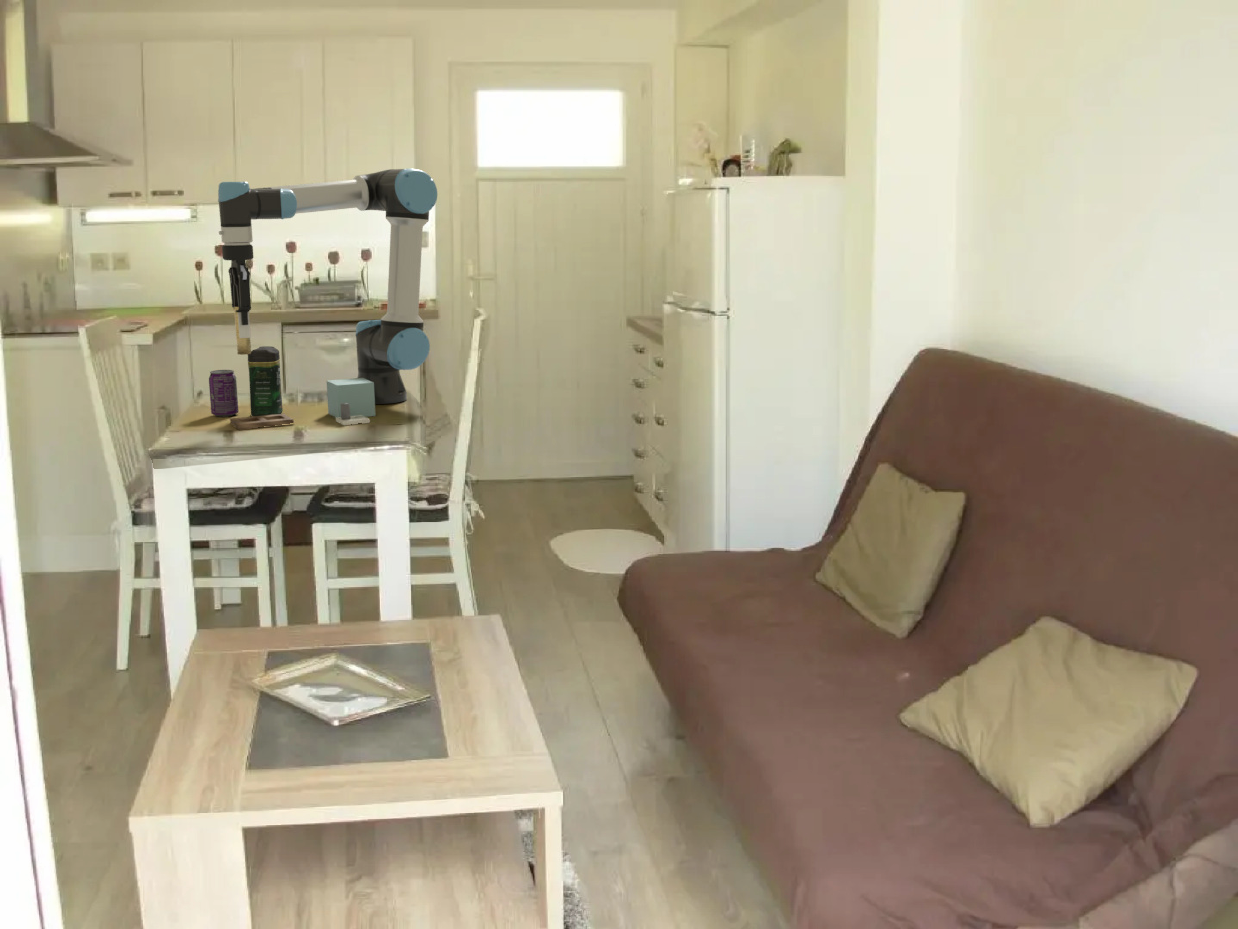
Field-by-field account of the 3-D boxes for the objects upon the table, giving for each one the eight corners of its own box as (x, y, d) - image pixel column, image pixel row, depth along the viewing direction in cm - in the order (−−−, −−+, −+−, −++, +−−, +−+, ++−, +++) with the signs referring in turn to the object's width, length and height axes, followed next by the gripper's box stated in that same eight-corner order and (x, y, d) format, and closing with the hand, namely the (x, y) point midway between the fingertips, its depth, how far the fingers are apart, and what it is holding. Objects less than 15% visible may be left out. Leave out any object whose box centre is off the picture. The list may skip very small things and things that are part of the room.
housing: (364, 410, 377) (362, 377, 375) (375, 415, 368) (373, 382, 366) (328, 413, 372) (326, 380, 370) (338, 419, 364) (337, 385, 362)
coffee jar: (278, 418, 366) (273, 348, 362) (248, 418, 366) (243, 349, 362) (286, 412, 376) (282, 344, 372) (257, 412, 376) (252, 344, 372)
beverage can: (228, 412, 376) (225, 368, 374) (244, 414, 372) (241, 370, 370) (206, 415, 371) (202, 371, 369) (221, 418, 367) (218, 373, 364)
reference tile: (361, 418, 364) (360, 400, 363) (369, 422, 358) (368, 403, 357) (335, 421, 361) (334, 402, 360) (343, 425, 355) (342, 406, 354)
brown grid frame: (284, 418, 365) (283, 413, 365) (293, 424, 356) (293, 419, 356) (230, 423, 359) (230, 418, 358) (239, 429, 350) (238, 424, 350)
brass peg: (249, 352, 354) (246, 305, 352) (252, 353, 351) (249, 306, 349) (236, 353, 353) (232, 306, 350) (239, 354, 350) (235, 307, 347)
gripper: (215, 243, 352) (221, 334, 357) (228, 245, 338) (235, 341, 343) (245, 242, 355) (251, 333, 360) (259, 244, 341) (265, 339, 346)
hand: (243, 336), depth 351 cm, fingers closed on brass peg, 3 cm apart
